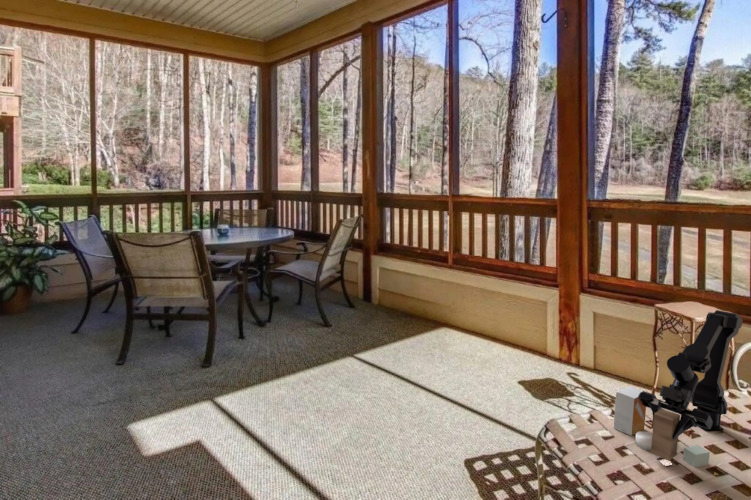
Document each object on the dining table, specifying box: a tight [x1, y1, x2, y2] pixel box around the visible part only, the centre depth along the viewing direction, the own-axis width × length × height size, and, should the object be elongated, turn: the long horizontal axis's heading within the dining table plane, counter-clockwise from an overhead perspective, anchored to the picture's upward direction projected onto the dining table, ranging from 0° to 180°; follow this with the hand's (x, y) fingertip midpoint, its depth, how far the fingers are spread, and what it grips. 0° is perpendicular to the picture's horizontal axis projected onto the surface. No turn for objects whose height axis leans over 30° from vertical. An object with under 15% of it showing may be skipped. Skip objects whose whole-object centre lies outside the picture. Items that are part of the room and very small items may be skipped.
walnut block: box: [650, 408, 681, 461], centre depth 143 cm, size 5×5×12 cm
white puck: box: [635, 430, 653, 451], centre depth 152 cm, size 6×6×3 cm
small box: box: [613, 385, 647, 436], centre depth 161 cm, size 8×6×13 cm
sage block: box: [682, 444, 710, 468], centre depth 143 cm, size 5×4×4 cm
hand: (663, 434), depth 142 cm, fingers closed on walnut block, 5 cm apart
